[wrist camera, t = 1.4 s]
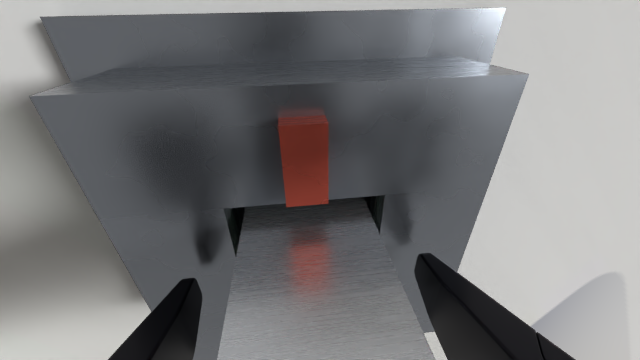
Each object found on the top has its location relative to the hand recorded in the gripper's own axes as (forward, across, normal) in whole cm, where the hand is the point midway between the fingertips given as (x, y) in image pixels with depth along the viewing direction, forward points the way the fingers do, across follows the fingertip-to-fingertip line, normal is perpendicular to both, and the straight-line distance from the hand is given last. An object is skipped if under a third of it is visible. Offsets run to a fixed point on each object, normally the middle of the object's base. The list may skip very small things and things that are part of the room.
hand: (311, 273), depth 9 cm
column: (+5, 0, 0) cm, 5 cm away
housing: (+5, 0, 0) cm, 5 cm away
